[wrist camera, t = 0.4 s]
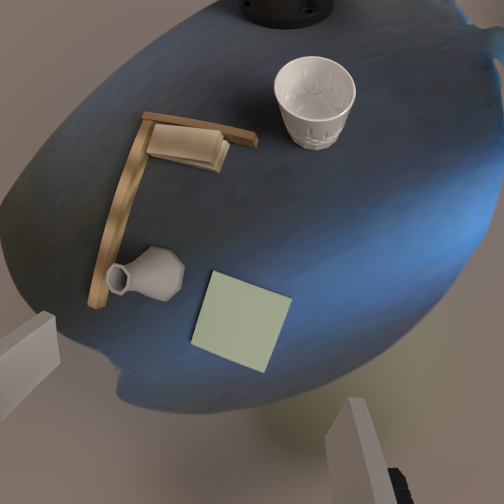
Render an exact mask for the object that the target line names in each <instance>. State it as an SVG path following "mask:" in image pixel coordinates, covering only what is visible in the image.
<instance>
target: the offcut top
mask: <svg viewBox="0 0 504 504" xmlns="http://www.w3.org/2000/svg"><path fill="white" fill-rule="evenodd" d="M223 138H224V136H223V135H222V134H221V132H220V131H217V130H209V129H201V128H192V127H183V126H173V125H162V124H156V125H155V128H154V131H153V133H152V136H151V139H150V142H149V145H148V148H147V151H146V152H147V153H148V154H150V155H151V156H153V157H159V158H166V159H172V160H179V161H185V162H191V163H197V164H203V165H209V166H214V167H215V165H216V162H217V158H218V155H219V152H220V148H221V145H222V142H223Z"/></svg>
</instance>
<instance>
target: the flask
mask: <svg viewBox="0 0 504 504" xmlns="http://www.w3.org/2000/svg"><path fill="white" fill-rule="evenodd" d="M184 269H185V266H184V265H183V263H182V262H181V261H180V260H179V258H178V257H177V256H176V255H175V253H174V252H173V251H172V250H171V249H167V248H163V247H158V246H154V245H152V246H151V247H150V248H149V249H147V250H146V251H145V252H144V253H143V254H142V255H141V256H139V257H138V258H137V259H136V260H134V261H133V262H131V263H129V264H126V265H120V264H117V263H113V264H112V265H111V266H110V268H109V269H108V270H107V272H106V280H105V283H106V285H107V286H108V288H109V289H110V291H111V292H113V293H116V294H119V295H123V294H124V293H125V292H126V291H130V290H131V291H137V292H140V293H142V294H143V295H145V296H148V297H151V298H154V299H158V300H161V301H164V302H167V301H168V300H170V299H171V298H172V297H173V296H174V295H175V294H176V293H177V292H178V291H179V290H180V289H181V287H182V281H183V275H184Z"/></svg>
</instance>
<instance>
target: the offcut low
mask: <svg viewBox="0 0 504 504" xmlns="http://www.w3.org/2000/svg"><path fill="white" fill-rule="evenodd" d="M229 146H230V144H229V143H228V142H227V141H226V140H223V142H222V145H221V148H220V152H219V155H218V158H217V162H216V165H215V167H214V166H209V165H203V164H197V163H191V162H185V161H179V160H172V159H167V160H171V161H175V162H179V163H183V164H187V165H191V166H194V167H198V168H202V169H205V170H209V171H212V172H216V173H219V172H220V170H221V167H222V164H223V162H224V159H225V156H226V154H227V151H228V148H229ZM163 159H166V158H163Z"/></svg>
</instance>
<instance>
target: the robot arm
mask: <svg viewBox="0 0 504 504" xmlns="http://www.w3.org/2000/svg"><path fill="white" fill-rule="evenodd" d="M239 2H240V5H241V8H242V11H243V13H244V14H245V15H246V16H247V17H248V18H249V19H250V20H252V21H253V22H255V23H257V24H260V25H263V26H266V27H271V28H279V29H294V28H302V27H307V26H310V25H313V24H316V23H318V22H320V21H322V20H324V19H325V18H326V17H327V16H328V15H329V14H330V13H331V11H332V9H333V5H334V0H239ZM59 364H60V357H59V349H58V341H57V332H56V321H55V316H54V315H52V314H50V313H48V312H46V311H42V312H41V313H39V314H37V315H36V316H34V317H33V318H32V319H30V320H28V321H27V322H25V323H24V324H23V325H21V326H20V327H18V328H17V329H15V330H14V331H12V332H11V333H9V334H8V335H6V336H5V337H4V338H2V339H1V340H0V423H1V422H2V421H3V420H4V419H5V418H6V417H7V415H8V414H9V413H10V412H11V411H12V410H13V409H14V408H15V407H16V406H17V405H18V404H19V403H20V402H21V401H22V400H23V399H24V398H25V397H26V396H27V395H28V394H29V393H30V392H31V391H32V390H33V389H34V388H35V387H36V386H37V385H38V384H39V383H40V382H41V381H42V380H43V379H44V378H45V377H46V376H47V375H48V374H49V373H50V372H52V371H53V370H54V369H55V368H56V367H57V366H58V365H59ZM325 445H326V452H327V459H328V467H329V474H330V482H331V490H332V498H333V504H414V503H413V500H412V498H411V493H410V490H408V484H407V482H406V478H405V476H404V475H403V474H402V473H401V471H400V470H399V469H398V468H387V467H386V463H385V461H384V457H383V454H382V451H381V448H380V444H379V441H378V438H377V435H376V432H375V429H374V426H373V424H372V420H371V417H370V414H369V411H368V408H367V405H366V402H365V400H364V398H353V397H348V398H347V400H346V402H345V404H344V405H343V407H342V409H341V411H340V413H339V414H338V416H337V418H336V420H335V422H334V423H333V425H332V427H331V428H330V430H329V432H328V433H327V435H326V437H325Z"/></svg>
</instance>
